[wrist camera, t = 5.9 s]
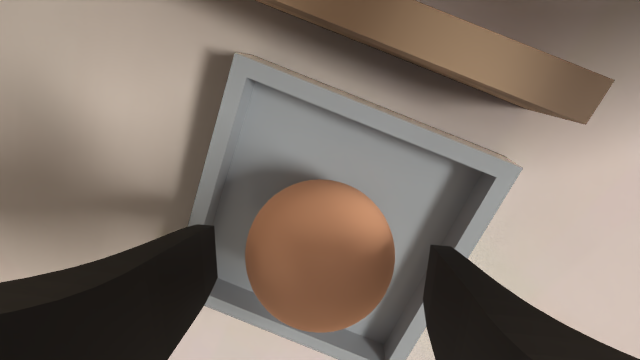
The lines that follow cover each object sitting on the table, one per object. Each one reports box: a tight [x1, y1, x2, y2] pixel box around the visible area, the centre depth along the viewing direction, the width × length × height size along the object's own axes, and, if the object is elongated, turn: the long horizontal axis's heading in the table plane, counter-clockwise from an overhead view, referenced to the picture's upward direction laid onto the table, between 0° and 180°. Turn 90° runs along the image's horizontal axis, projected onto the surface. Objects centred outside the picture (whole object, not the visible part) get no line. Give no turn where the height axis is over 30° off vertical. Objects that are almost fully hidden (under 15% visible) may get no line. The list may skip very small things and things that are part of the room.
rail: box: [256, 0, 614, 124], centre depth 11 cm, size 14×1×4 cm, turn 69°
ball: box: [245, 179, 395, 333], centre depth 12 cm, size 5×5×5 cm
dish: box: [188, 53, 523, 360], centre depth 14 cm, size 10×10×2 cm
